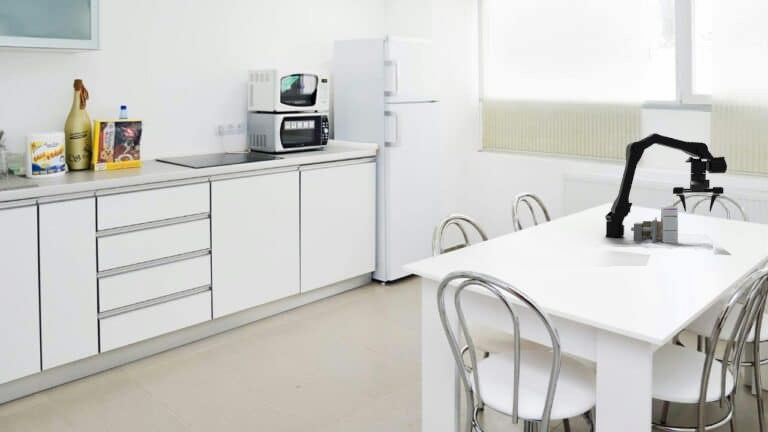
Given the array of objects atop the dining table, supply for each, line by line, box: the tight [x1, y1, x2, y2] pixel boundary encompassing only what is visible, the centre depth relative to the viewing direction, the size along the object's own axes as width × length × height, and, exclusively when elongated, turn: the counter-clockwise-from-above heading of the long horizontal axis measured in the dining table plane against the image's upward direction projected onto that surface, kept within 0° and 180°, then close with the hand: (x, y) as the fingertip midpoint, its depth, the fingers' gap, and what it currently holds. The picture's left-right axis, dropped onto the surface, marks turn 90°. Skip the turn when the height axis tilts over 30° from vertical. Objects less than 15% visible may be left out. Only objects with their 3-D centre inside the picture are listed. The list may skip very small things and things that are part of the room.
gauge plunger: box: [630, 216, 658, 243], centre depth 276 cm, size 10×13×9 cm
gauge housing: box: [633, 220, 661, 242], centre depth 274 cm, size 10×11×8 cm
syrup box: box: [660, 205, 679, 244], centre depth 269 cm, size 6×6×14 cm
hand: (697, 211), depth 276 cm, fingers open, 9 cm apart
